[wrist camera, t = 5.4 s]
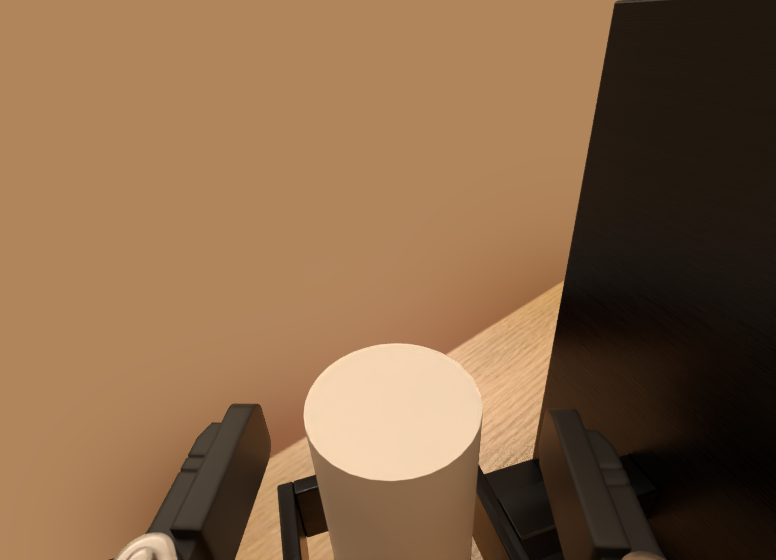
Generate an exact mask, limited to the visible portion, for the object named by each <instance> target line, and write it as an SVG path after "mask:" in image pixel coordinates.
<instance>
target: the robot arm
mask: <svg viewBox="0 0 776 560" xmlns="http://www.w3.org/2000/svg"><path fill="white" fill-rule="evenodd" d="M270 452H271V440H270V435H269V432H268V429H267V425H266V422H265V418H264V415H263V412H262V408H261V406H260V405H259V404H232V405H231V406H230V407H229V408H228V410H227V412H226V414H225V416H224V419H223V421H222V422H221V423H211V424H210V425H209V426H208V427H207V428H206V429H205V430H204V431H203V433H201V434H200V435H199V436H198V437H197V439H196V441H195V443H194V445H193V447H192V448H191V451H190V452H189V454H188V458H186V460H185V462H184V464H183V465H182V467H181V472H180V473H178V475H177V477H176V479H175V481H174V483H173V484H172V486H171V488H170V490H169V492H168V494H167V496H166V497H165V499H164V502H163V503H162V505H161V507H160V509H159V511H158V513H157V515H156V516H155V518H154V520H153V522H152V524H151V526H150V527H149V529H148V531H147V532H146V533H145V535H143V536H140V537H138V538H136V539H135V540H133V541H132V542H130V543H129V544H128V545H126V546H125V547H124V548H123V549H122V550H121V551H120V552H119V554H118V555H117V556H116V557H115V558H113V559H110V560H235V557H236V554H237V552H238V549H239V546H240V543H241V540H242V537H243V534H244V531H245V528H246V525H247V522H248V520H249V517H250V514H251V511H252V508H253V505H254V502H255V499H256V496H257V493H258V490H259V487H260V485H261V482H262V479H263V476H264V473H265V470H266V467H267V464H268V461H269V457H270ZM539 462H540V467H541V472H542V475H543V479H544V483H545V487H546V491H547V494H548V498H549V502H550V506H551V510H552V514H553V517H554V521H555V525H556V529H557V533H558V536H559V540H560V544H561V548H562V552H563V556H564V559H565V560H667V559H666V558H665V556H664V555H663V553H662V552H661V550H660V548H659V546H658V544H657V541H656V539H655V537H654V535H653V533H652V530H651V528H650V526H649V524H648V521H647V519H646V517H645V515H644V512H643V510H642V508H641V506H640V503H639V501H638V499H637V497H636V494H635V492H634V490H633V488H632V486H630V481H629V479H628V476H627V474H626V472H625V470H623V465H622V463H621V461H620V458H619V456H618V454H617V452H616V449H615V447H614V446H613V445H612V444H611V443H610V441H609V440H608V439H607V438H606V437H605V436H604V435H603V434H602V433H601V432H600V431H599V430H585V428H584V425H583V422H582V420H581V417H580V415H579V413H578V411H577V410H576V409H557V408H547V409H546V411H545V414H544V420H543V425H542V430H541V436H540V441H539Z"/></svg>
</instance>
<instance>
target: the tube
mask: <svg viewBox="0 0 776 560" xmlns="http://www.w3.org/2000/svg"><path fill="white" fill-rule="evenodd" d="M482 414H483V410H482V398H481V395H480V392H479V389H478V387H477V385H476V383H475V381H474V380H473V378H472V377H471V375H470V374H469V373H468V372H467V371H466V370H465V369H464V368H463V367H462V366H461V365H460V364H459V363H457V362H456V361H455V360H453V359H452V358H450V357H448V356H446V355H444V354H442V353H440V352H438V351H435V350H433V349H429V348H426V347H423V346H417V345H411V344H395V343H393V344H382V345H376V346H371V347H367V348H363V349H360V350H358V351H355V352H352V353H350V354H348V355H346V356H344V357H342V358H340V359H339V360H337V361H336V362H334V363H333V364H332V365H330V366H329V367H328V368H327V369H326V370H325V371H324V372H323V373H322V374H321V375H320V376H319V377H318V378H317V380H316V381H315V382H314V384H313V386H312V387H311V389H310V391H309V394H308V396H307V399H306V402H305V408H304V422H305V429H306V434H307V438H308V443H309V447H310V451H311V456H312V460H313V465H314V469H315V473H316V478H317V482H318V487H319V491H320V496H321V500H322V504H323V509H324V513H325V518H326V522H327V526H328V531H329V535H330V540H331V544H332V549H333V553H334V557H335V560H470V559H471V547H472V535H473V523H474V511H475V499H476V486H477V474H478V462H479V450H480V438H481V426H482Z"/></svg>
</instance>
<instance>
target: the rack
mask: <svg viewBox="0 0 776 560" xmlns="http://www.w3.org/2000/svg"><path fill="white" fill-rule="evenodd" d="M547 408H557V409H576V410H577V411H578V413H579V415H580V417H581V420H582V422H583V425H584V428H585V430H599V431H600V432H601V433H602V434H603V435H604V436H605V437H606V438H607V439H608V440H609V441H610V443H611V444H612V445H613V446H614V447H615V449H616V452H617V454H618V456H619V458H620V461H621V463H622V465H623V470H625V472H626V474H627V476H628V479H629V481H630V486H632V488H633V490H634V492H635V494H636V497H637V499H638V501H639V503H640V506H641V508H642V510H643V512H644V515H645V517H646V519H647V521H648V524H649V526H650V528H651V530H652V533H653V535H654V537H655V539H656V541H657V544H658V546H659V548H660V550H661V552H662V553H663V555H664V556H665V558H666V559H667V560H776V0H621V1H617V2H615V4H614V9H613V15H612V20H611V26H610V31H609V37H608V42H607V48H606V54H605V59H604V65H603V70H602V76H601V81H600V87H599V92H598V98H597V103H596V109H595V114H594V120H593V126H592V131H591V137H590V143H589V148H588V153H587V159H586V164H585V170H584V175H583V181H582V187H581V192H580V198H579V203H578V209H577V214H576V220H575V226H574V231H573V236H572V242H571V247H570V253H569V259H568V264H567V270H566V275H565V281H564V286H563V292H562V297H561V303H560V309H559V314H558V320H557V325H556V331H555V336H554V342H553V347H552V353H551V358H550V364H549V370H548V375H547V381H546V386H545V392H544V397H543V403H542V408H541V414H540V419H539V425H538V431H537V436H536V442H535V447H534V453H533V459H531V460H528V461H525V462H522V463H519V464H515V465H512V466H509V467H506V468H503V469H500V470H496V471H493V472H490V473H487V474H483V472H482V470H481V468H480V466H479V464H478V474H477V486H476V499H475V511H474V523H473V535H472V536H473V538H474V540H475V542H476V544H477V547H478V549H479V551H480V553H481V555H482V558H483V560H565V559H564V556H563V552H562V548H561V544H560V540H559V536H558V533H557V529H556V525H555V521H554V517H553V514H552V510H551V506H550V502H549V498H548V494H547V491H546V487H545V483H544V479H543V475H542V472H541V467H540V462H539V441H540V436H541V430H542V425H543V420H544V414H545V411H546V409H547ZM277 489H278V502H279V514H280V526H281V539H282V551H283V560H309V554H308V546H307V538H306V536H307V537H311V536H314V535H317V534H320V533H323V532H327V531H328V526H327V522H326V518H325V513H324V509H323V504H322V500H321V496H320V491H319V487H318V482H317V478H316V475H313V476H310V477H306V478H303V479H299V480H296V481H294V483H293V482H289V483H286V484H282V485H279V486H278V488H277Z"/></svg>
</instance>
